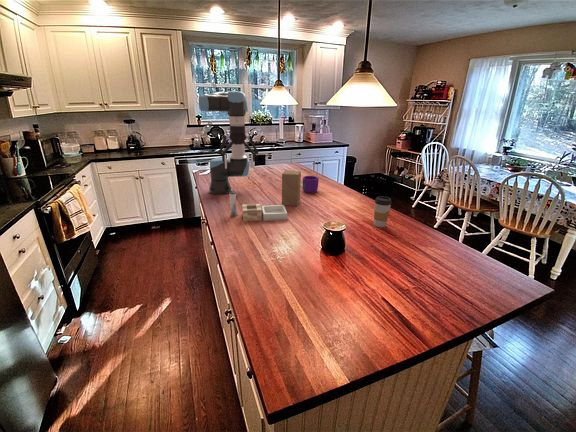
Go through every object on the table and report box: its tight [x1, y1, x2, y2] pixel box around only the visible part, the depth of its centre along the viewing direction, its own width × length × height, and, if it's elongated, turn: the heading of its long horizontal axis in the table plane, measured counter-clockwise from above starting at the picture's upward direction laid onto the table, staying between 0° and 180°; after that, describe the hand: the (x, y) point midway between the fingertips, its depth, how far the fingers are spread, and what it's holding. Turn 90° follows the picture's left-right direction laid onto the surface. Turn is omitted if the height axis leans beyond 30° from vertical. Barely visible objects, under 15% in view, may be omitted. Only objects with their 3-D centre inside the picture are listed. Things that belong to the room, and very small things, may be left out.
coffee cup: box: [373, 195, 392, 228], centre depth 152 cm, size 8×8×15 cm
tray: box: [261, 204, 288, 222], centre depth 164 cm, size 13×13×4 cm
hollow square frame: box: [241, 203, 263, 222], centre depth 161 cm, size 10×10×6 cm
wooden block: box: [281, 169, 302, 207], centre depth 181 cm, size 10×10×20 cm
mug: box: [302, 175, 319, 194], centre depth 210 cm, size 17×11×10 cm, turn 17°
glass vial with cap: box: [228, 190, 238, 217], centre depth 162 cm, size 4×4×14 cm
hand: (239, 167), depth 152 cm, fingers open, 13 cm apart
